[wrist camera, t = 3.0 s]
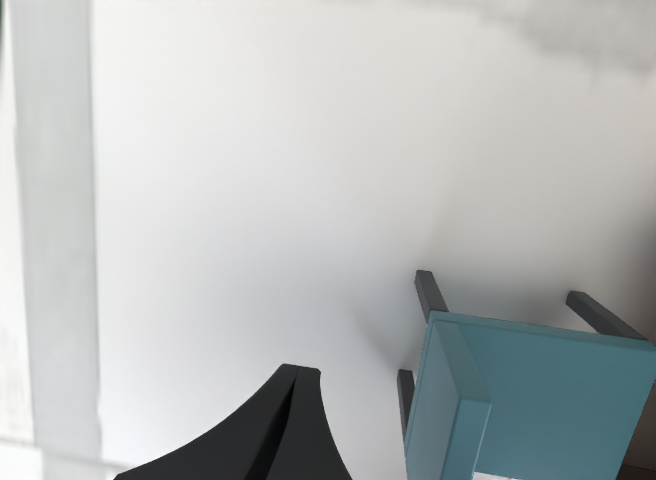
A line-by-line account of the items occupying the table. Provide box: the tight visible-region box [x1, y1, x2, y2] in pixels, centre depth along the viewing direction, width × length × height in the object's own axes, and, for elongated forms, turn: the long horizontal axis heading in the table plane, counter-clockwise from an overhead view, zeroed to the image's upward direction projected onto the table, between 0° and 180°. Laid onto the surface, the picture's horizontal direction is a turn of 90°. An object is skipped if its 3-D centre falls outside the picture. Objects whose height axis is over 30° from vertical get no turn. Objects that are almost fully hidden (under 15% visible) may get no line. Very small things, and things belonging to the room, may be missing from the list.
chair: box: [397, 270, 656, 480], centre depth 14 cm, size 8×6×9 cm
